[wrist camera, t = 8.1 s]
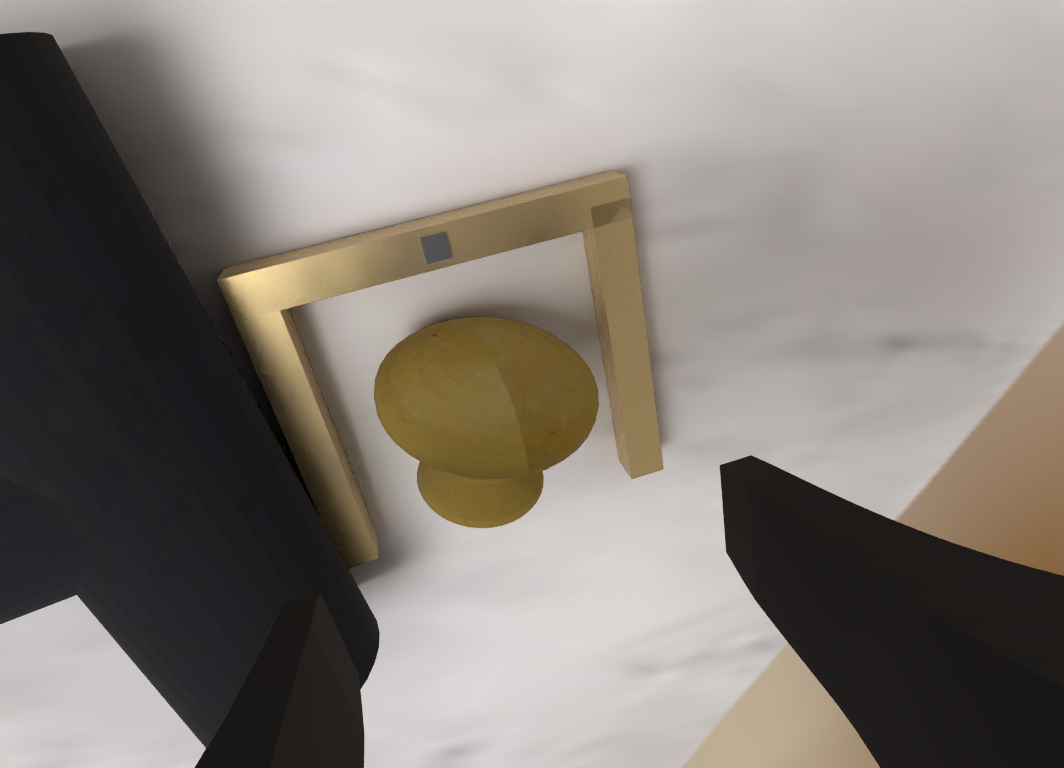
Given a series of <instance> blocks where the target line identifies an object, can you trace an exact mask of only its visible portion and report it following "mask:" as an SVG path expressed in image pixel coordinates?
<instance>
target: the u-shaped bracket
mask: <svg viewBox="0 0 1064 768" xmlns="http://www.w3.org/2000/svg"><path fill="white" fill-rule="evenodd" d="M581 231H583V235H584V241H585V248H586V254H587V260H588V267H589V273H590V279H591V285H592V292H593V298H594V304H595V310H596V317H597V323H598V329H599V335H600V342H601V348H602V354H603V361H604V367H605V373H606V379H607V386H608V392H609V398H610V404H611V411H612V417H613V423H614V430H615V436H616V442H617V448H618V455H619V461H620V463H621V464H622V466H623V467H624V469H625V470H626V472H627V473H628V475H629V476H630V478H631V479H634V478H637V477H640V476H643V475H647V474H650V473H653V472H656V471H659V470H663V461H662V453H661V444H660V436H659V428H658V420H657V412H656V404H655V396H654V387H653V379H652V371H651V363H650V355H649V347H648V339H647V331H646V322H645V314H644V306H643V298H642V290H641V282H640V274H639V265H638V257H637V249H636V241H635V233H634V225H633V217H632V208H631V200H630V192H629V184H628V176H626V175H624V174H621V173H619V172H616V171H614V170H612V171H608V172H604V173H600V174H596V175H592V176H588V177H584V178H580V179H576V180H572V181H568V182H564V183H560V184H556V185H552V186H548V187H544V188H540V189H536V190H532V191H528V192H524V193H520V194H516V195H513V196H509V197H505V198H501V199H497V200H493V201H489V202H485V203H481V204H477V205H473V206H469V207H465V208H461V209H457V210H453V211H449V212H445V213H441V214H437V215H433V216H429V217H425V218H421V219H417V220H413V221H409V222H405V223H401V224H397V225H393V226H389V227H385V228H381V229H377V230H373V231H369V232H366V233H362V234H358V235H354V236H350V237H346V238H342V239H338V240H334V241H330V242H326V243H322V244H318V245H314V246H310V247H306V248H302V249H298V250H294V251H290V252H286V253H282V254H278V255H274V256H270V257H266V258H262V259H258V260H254V261H250V262H246V263H242V264H238V265H234V266H230V267H226V268H224V270H223V271H222V273H221V274H220V276H219V278H218V279H217V282H218V284H219V287H220V289H221V291H222V293H223V296H224V298H225V300H226V303H227V305H228V307H229V310H230V312H231V314H232V316H233V319H234V321H235V323H236V326H237V328H238V330H239V332H240V335H241V337H242V339H243V342H244V344H245V346H246V349H247V351H248V353H249V355H250V358H251V360H252V362H253V365H254V367H255V369H256V372H257V374H258V376H259V378H260V381H261V383H262V385H263V388H264V390H265V392H266V395H267V397H268V399H269V401H270V404H271V406H272V408H273V411H274V413H275V415H276V418H277V420H278V422H279V424H280V427H281V429H282V431H283V434H284V436H285V438H286V441H287V443H288V445H289V447H290V450H291V452H292V454H293V457H294V459H295V461H296V463H297V466H298V468H299V470H300V473H301V475H302V477H303V480H304V482H305V484H306V486H307V489H308V491H309V493H310V496H311V498H312V500H313V503H314V505H315V507H316V509H317V512H318V514H319V516H320V519H321V521H322V523H323V525H324V526H325V528H326V530H327V532H328V534H329V535H330V537H331V539H332V541H333V543H334V544H335V546H336V548H337V550H338V552H339V554H340V555H341V557H342V559H343V561H344V563H345V564H346V566H347V568H350V567H354V566H357V565H360V564H363V563H366V562H370V561H373V560H376V559H378V540H377V534H376V532H375V529H374V527H373V524H372V522H371V519H370V516H369V514H368V511H367V509H366V506H365V504H364V501H363V499H362V496H361V493H360V491H359V488H358V486H357V483H356V481H355V478H354V475H353V473H352V470H351V468H350V465H349V463H348V460H347V458H346V455H345V452H344V450H343V447H342V445H341V442H340V440H339V437H338V434H337V432H336V429H335V427H334V424H333V422H332V419H331V417H330V414H329V411H328V409H327V406H326V404H325V401H324V399H323V396H322V394H321V391H320V388H319V386H318V383H317V381H316V378H315V376H314V373H313V370H312V368H311V365H310V363H309V360H308V358H307V355H306V353H305V350H304V347H303V345H302V342H301V340H300V337H299V335H298V332H297V330H296V327H295V324H294V322H293V319H292V317H291V314H290V312H289V309H288V308H291V307H295V306H299V305H303V304H307V303H310V302H314V301H318V300H322V299H326V298H330V297H333V296H337V295H341V294H345V293H349V292H352V291H356V290H360V289H364V288H368V287H371V286H375V285H379V284H383V283H387V282H391V281H394V280H398V279H402V278H406V277H410V276H413V275H417V274H421V273H425V272H429V271H433V270H436V269H440V268H444V267H448V266H452V265H455V264H459V263H463V262H467V261H471V260H474V259H478V258H482V257H486V256H490V255H494V254H497V253H501V252H505V251H509V250H513V249H516V248H520V247H524V246H528V245H532V244H535V243H539V242H543V241H547V240H551V239H555V238H558V237H562V236H566V235H570V234H574V233H577V232H581Z"/></svg>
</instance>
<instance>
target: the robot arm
mask: <svg viewBox="0 0 1064 768" xmlns="http://www.w3.org/2000/svg"><path fill="white" fill-rule="evenodd" d="M720 474H721V487H722V501H723V514H724V528H725V541H726V552H727V554H728V556H729V557H730V559H731V561H732V562H733V564H734V566H735V568H736V569H737V571H738V573H739V574H740V576H741V578H742V579H743V581H744V583H745V584H746V586H747V587H748V589H749V591H750V592H751V594H752V596H753V597H754V599H755V600H756V602H757V603H758V604H759V605H760V607H761V608H762V609H763V611H764V612H765V613H766V615H767V616H768V617H769V618H770V620H771V621H772V622H773V624H774V625H775V626H776V627H777V629H778V630H779V631H780V633H781V634H782V635H783V636H784V638H785V639H786V640H787V641H788V643H789V644H790V645H791V646H792V648H793V649H794V650H795V652H796V653H797V654H798V655H799V657H800V658H801V659H802V660H803V662H804V663H805V664H806V665H807V667H808V668H809V669H810V670H811V672H812V673H813V674H814V675H815V677H816V678H817V679H818V681H819V682H820V683H821V684H822V685H823V687H824V688H825V689H826V691H827V692H828V693H829V695H830V696H831V697H832V698H833V700H834V701H835V702H836V703H837V705H838V706H839V707H840V709H841V710H842V711H843V713H844V714H845V716H846V717H847V718H848V720H849V721H850V723H851V724H852V725H853V727H854V728H855V729H856V731H857V732H858V734H859V735H860V737H861V738H862V740H863V742H864V743H865V745H866V746H867V748H868V749H869V751H870V752H871V754H872V756H873V757H874V758H875V760H876V762H877V763H878V765H879V766H880V768H1064V576H1062V575H1058V574H1054V573H1050V572H1047V571H1043V570H1039V569H1035V568H1031V567H1028V566H1024V565H1021V564H1017V563H1014V562H1010V561H1007V560H1004V559H1000V558H997V557H994V556H991V555H988V554H985V553H982V552H978V551H976V550H972V549H970V548H967V547H963V546H960V545H957V544H954V543H951V542H949V541H946V540H943V539H940V538H937V537H935V536H932V535H929V534H927V533H924V532H922V531H919V530H916V529H914V528H911V527H909V526H906V525H904V524H901V523H899V522H896V521H894V520H891V519H889V518H886V517H884V516H882V515H879V514H877V513H875V512H872V511H870V510H868V509H865V508H863V507H861V506H858V505H856V504H854V503H852V502H850V501H847V500H845V499H843V498H841V497H839V496H836V495H834V494H832V493H830V492H828V491H826V490H824V489H821V488H819V487H817V486H815V485H813V484H811V483H809V482H807V481H805V480H803V479H800V478H798V477H796V476H794V475H792V474H790V473H788V472H786V471H784V470H782V469H780V468H778V467H775V466H773V465H771V464H769V463H767V462H765V461H763V460H760V459H758V458H756V457H754V456H748V457H745V458H742V459H738V460H735V461H732V462H729V463H726V464H723V465H720ZM195 768H364V725H363V713H362V703H361V693H360V683H359V675H358V672H357V670H356V668H355V666H354V664H353V662H352V660H351V657H350V655H349V653H348V651H347V649H346V647H345V645H344V642H343V640H342V638H341V636H340V634H339V632H338V629H337V627H336V625H335V623H334V621H333V619H332V617H331V614H330V612H329V610H328V608H327V606H326V604H325V602H324V599H323V597H322V595H321V593H320V592H318V593H315V594H312V595H309V596H306V597H303V598H300V599H296V600H293V601H290V602H287V603H284V604H283V605H282V607H281V608H280V610H279V612H278V614H277V616H276V618H275V620H274V622H273V624H272V626H271V628H270V630H269V632H268V634H267V636H266V638H265V640H264V642H263V644H262V646H261V648H260V650H259V652H258V654H257V656H256V658H255V660H254V662H253V664H252V666H251V668H250V669H249V671H248V673H247V675H246V677H245V679H244V681H243V683H242V685H241V687H240V689H239V690H238V692H237V694H236V696H235V698H234V700H233V702H232V703H231V705H230V707H229V709H228V711H227V713H226V715H225V716H224V718H223V720H222V722H221V724H220V726H219V727H218V729H217V731H216V733H215V735H214V736H213V738H212V740H211V741H210V743H209V745H208V746H207V748H206V750H205V751H204V753H203V755H202V756H201V758H200V760H199V761H198V763H197V765H196V767H195Z"/></svg>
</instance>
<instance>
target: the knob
mask: <svg viewBox="0 0 1064 768" xmlns="http://www.w3.org/2000/svg"><path fill="white" fill-rule="evenodd" d="M374 400H375V405H376V410H377V414H378V417H379V419H380V421H381V423H382V425H383V427H384V429H385V431H386V432H387V433H388V434H389V436H390V437H391V438H392V439H393V441H394V442H395V443H396V444H397V445H399V446H400V447H401V448H402V449H403V450H404V451H406V452H407V453H408V454H409V455H411V456H412V457H414V458H416V459H418V460H419V461H420V463H419V466H418V471H417V483H418V487H419V491H420V493H421V495H422V497H423V499H424V500H425V501H426V503H427V504H428V505H429V507H430V508H431V509H432V510H434V511H435V512H436V513H437V514H438V515H440V516H442V517H443V518H445V519H446V520H449V521H451V522H453V523H456V524H459V525H463V526H467V527H474V528H492V527H497V526H502V525H505V524H508V523H511V522H513V521H515V520H517V519H519V518H520V517H522V516H523V515H525V514H526V513H527V512H528V511H529V510H530V509H531V508H532V507H533V506H534V505H535V503H536V502H537V500H538V499H539V497H540V495H541V492H542V488H543V472H542V471H543V470H546V469H548V468H550V467H552V466H554V465H555V464H557V463H559V462H561V461H563V460H565V459H566V458H567V457H569V456H570V455H571V454H572V453H574V452H575V451H576V450H577V449H578V448H579V447H580V446H581V445H582V443H583V442H584V441H585V440H586V439H587V437H588V435H589V433H590V431H591V429H592V427H593V425H594V423H595V420H596V415H597V411H598V406H599V403H598V388H597V385H596V382H595V378H594V376H593V374H592V372H591V371H590V369H589V367H588V365H587V364H586V363H585V362H584V360H583V359H582V358H581V357H580V356H579V355H578V354H577V353H576V352H575V351H574V350H573V349H572V348H570V347H569V346H568V345H567V344H566V343H564V342H563V341H561V340H560V339H558V338H556V337H555V336H553V335H552V334H550V333H547V332H545V331H543V330H541V329H539V328H537V327H534V326H531V325H528V324H525V323H522V322H518V321H513V320H509V319H504V318H495V317H468V318H458V319H452V320H448V321H443V322H439V323H436V324H433V325H430V326H428V327H425V328H423V329H421V330H419V331H417V332H415V333H413V334H411V335H409V336H408V337H406V338H405V339H403V340H402V341H401V342H399V343H398V344H397V345H396V346H395V347H394V348H393V349H392V350H391V351H390V352H389V353H388V354H387V355H386V357H385V358H384V360H383V361H382V363H381V365H380V367H379V370H378V372H377V375H376V378H375V388H374Z"/></svg>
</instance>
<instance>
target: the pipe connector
mask: <svg viewBox="0 0 1064 768" xmlns="http://www.w3.org/2000/svg"><path fill="white" fill-rule="evenodd" d="M318 592H320V593H321V595H322V597H323V599H324V602H325V604H326V606H327V608H328V610H329V612H330V614H331V617H332V619H333V621H334V623H335V625H336V627H337V629H338V632H339V634H340V636H341V638H342V640H343V642H344V645H345V647H346V649H347V651H348V653H349V655H350V657H351V660H352V662H353V664H354V666H355V668H356V670H357V672H358V675H359V683H360V689H361V688H362V686H363V685H364V683H365V682H366V680H367V678H368V676H369V674H370V672H371V670H372V667H373V665H374V663H375V659H376V656H377V652H378V648H379V629H378V624H377V620H376V618H375V617H374V615H373V613H372V611H371V609H370V608H369V606H368V604H367V602H366V600H365V599H364V597H363V595H362V593H361V591H360V590H359V588H358V586H357V584H356V582H355V581H354V579H353V577H352V575H351V573H350V572H349V570H348V568H347V566H346V564H345V563H344V561H343V559H342V557H341V555H340V554H339V552H338V550H337V548H336V546H335V544H334V543H333V541H332V539H331V537H330V535H329V534H328V532H327V530H326V528H325V526H324V525H323V523H322V521H321V519H320V517H319V516H318V514H317V512H316V510H315V508H314V507H313V505H312V503H311V501H310V499H309V498H308V496H307V494H306V492H305V490H304V489H303V487H302V485H301V483H300V481H299V480H298V478H297V476H296V474H295V472H294V470H293V469H292V467H291V465H290V463H289V461H288V460H287V458H286V456H285V454H284V452H283V451H282V449H281V447H280V445H279V443H278V442H277V440H276V438H275V436H274V434H273V433H272V431H271V429H270V427H269V425H268V424H267V422H266V420H265V418H264V416H263V415H262V413H261V411H260V409H259V407H258V406H257V404H256V402H255V400H254V398H253V396H252V395H251V393H250V391H249V389H248V387H247V386H246V384H245V382H244V380H243V378H242V377H241V375H240V373H239V371H238V369H237V368H236V366H235V364H234V362H233V360H232V359H231V357H230V355H229V353H228V351H227V350H226V348H225V346H224V344H223V342H222V341H221V339H220V337H219V335H218V333H217V332H216V330H215V328H214V326H213V324H212V322H211V321H210V319H209V317H208V315H207V313H206V312H205V310H204V308H203V306H202V304H201V303H200V301H199V299H198V297H197V295H196V294H195V292H194V290H193V288H192V286H191V285H190V283H189V281H188V279H187V277H186V276H185V274H184V272H183V270H182V268H181V267H180V265H179V263H178V261H177V259H176V258H175V256H174V254H173V252H172V250H171V248H170V247H169V245H168V243H167V241H166V239H165V238H164V236H163V234H162V232H161V230H160V229H159V227H158V225H157V223H156V221H155V220H154V218H153V216H152V214H151V212H150V211H149V209H148V207H147V205H146V203H145V202H144V200H143V198H142V196H141V194H140V193H139V191H138V189H137V187H136V185H135V183H134V182H133V180H132V178H131V176H130V174H129V173H128V171H127V169H126V167H125V165H124V164H123V162H122V160H121V158H120V156H119V155H118V153H117V151H116V149H115V147H114V146H113V144H112V142H111V140H110V138H109V137H108V135H107V133H106V131H105V129H104V128H103V126H102V124H101V122H100V120H99V119H98V117H97V115H96V113H95V111H94V109H93V108H92V106H91V104H90V102H89V100H88V99H87V97H86V95H85V93H84V91H83V90H82V88H81V86H80V84H79V82H78V81H77V79H76V77H75V75H74V73H73V72H72V70H71V68H70V66H69V64H68V63H67V61H66V59H65V57H64V55H63V54H62V52H61V50H60V48H59V46H58V45H57V43H56V41H55V39H54V37H53V35H50V34H47V33H37V32H24V33H7V34H0V624H2V623H5V622H7V621H10V620H13V619H15V618H18V617H20V616H23V615H26V614H28V613H31V612H33V611H36V610H39V609H41V608H44V607H46V606H49V605H52V604H54V603H57V602H59V601H62V600H65V599H67V598H70V597H72V596H75V595H77V596H78V597H79V598H80V599H81V600H82V602H83V603H84V604H85V605H86V606H87V607H88V609H89V610H90V611H91V612H92V613H93V615H94V616H95V617H96V618H97V619H98V621H99V622H100V623H101V624H102V625H103V626H104V628H105V629H106V630H107V631H108V632H109V634H110V635H111V636H112V637H113V638H114V639H115V641H116V642H117V643H118V644H119V645H120V647H121V648H122V649H123V650H124V651H125V653H126V654H127V655H128V656H129V657H130V658H131V660H132V661H133V662H134V663H135V664H136V666H137V667H138V668H139V669H140V670H141V671H142V673H143V674H144V675H145V676H146V677H147V679H148V680H149V681H150V682H151V683H152V685H153V686H154V687H155V688H156V689H157V690H158V692H159V693H160V694H161V695H162V696H163V698H164V699H165V700H166V701H167V702H168V704H169V705H170V706H171V707H172V708H173V709H174V711H175V712H176V713H177V714H178V715H179V717H180V718H181V719H182V720H183V721H184V722H185V724H186V725H187V726H188V727H189V728H190V730H191V731H192V732H193V733H194V734H195V736H196V737H197V738H198V739H199V740H200V741H201V743H202V744H203V745H204V746H205V747H206V748H207V746H208V745H209V743H210V741H211V740H212V738H213V736H214V735H215V733H216V731H217V729H218V727H219V726H220V724H221V722H222V720H223V718H224V716H225V715H226V713H227V711H228V709H229V707H230V705H231V703H232V702H233V700H234V698H235V696H236V694H237V692H238V690H239V689H240V687H241V685H242V683H243V681H244V679H245V677H246V675H247V673H248V671H249V669H250V668H251V666H252V664H253V662H254V660H255V658H256V656H257V654H258V652H259V650H260V648H261V646H262V644H263V642H264V640H265V638H266V636H267V634H268V632H269V630H270V628H271V626H272V624H273V622H274V620H275V618H276V616H277V614H278V612H279V610H280V608H281V607H282V605H283V604H284V603H287V602H290V601H293V600H296V599H300V598H303V597H306V596H309V595H312V594H315V593H318Z"/></svg>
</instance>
